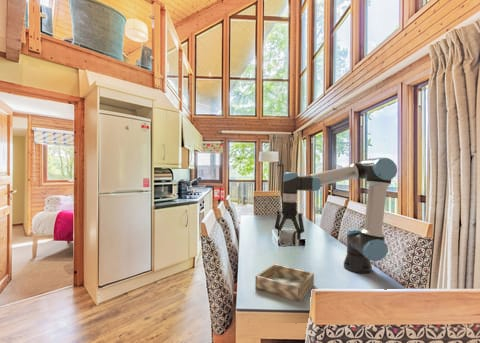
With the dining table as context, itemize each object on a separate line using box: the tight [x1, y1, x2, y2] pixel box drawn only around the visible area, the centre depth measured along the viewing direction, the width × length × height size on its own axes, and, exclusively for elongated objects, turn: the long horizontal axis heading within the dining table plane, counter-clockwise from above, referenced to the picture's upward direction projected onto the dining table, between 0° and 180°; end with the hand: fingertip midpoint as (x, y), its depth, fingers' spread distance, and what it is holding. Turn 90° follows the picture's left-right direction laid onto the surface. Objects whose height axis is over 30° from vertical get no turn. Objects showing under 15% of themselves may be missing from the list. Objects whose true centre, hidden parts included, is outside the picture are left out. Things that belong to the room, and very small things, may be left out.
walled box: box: [254, 263, 315, 303], centre depth 122 cm, size 22×20×6 cm
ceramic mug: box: [278, 229, 297, 248], centre depth 132 cm, size 11×8×8 cm
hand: (288, 243), depth 133 cm, fingers closed on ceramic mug, 8 cm apart
